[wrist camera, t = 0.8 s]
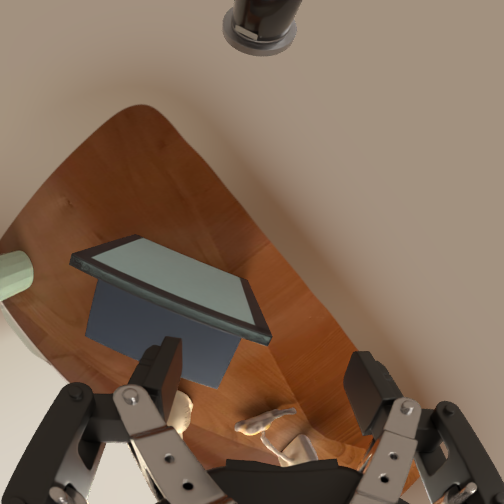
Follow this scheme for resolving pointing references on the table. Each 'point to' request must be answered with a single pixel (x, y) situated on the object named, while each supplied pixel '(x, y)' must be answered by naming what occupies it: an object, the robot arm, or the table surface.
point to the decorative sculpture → (291, 455)
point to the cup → (14, 273)
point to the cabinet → (158, 333)
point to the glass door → (177, 285)
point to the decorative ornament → (180, 412)
